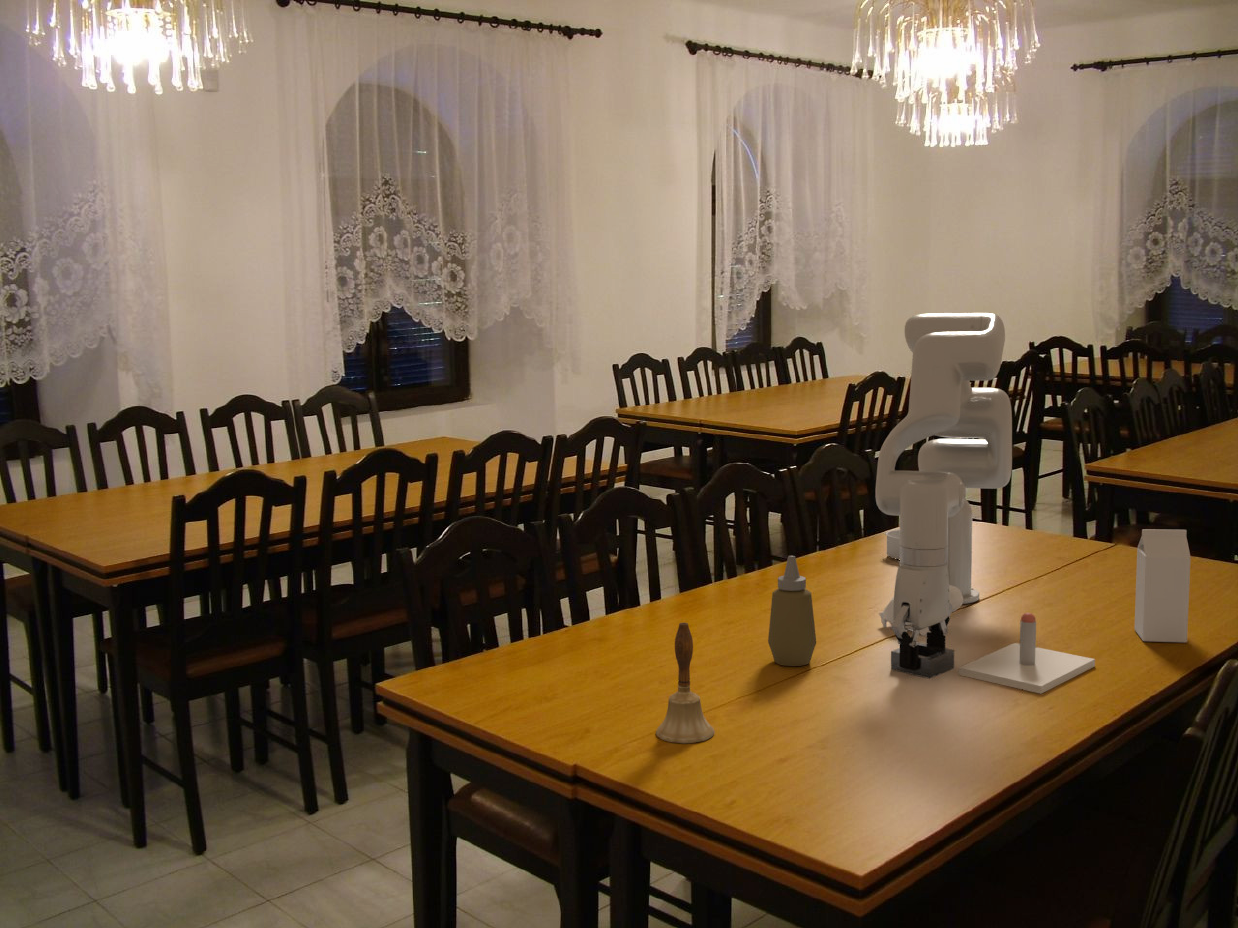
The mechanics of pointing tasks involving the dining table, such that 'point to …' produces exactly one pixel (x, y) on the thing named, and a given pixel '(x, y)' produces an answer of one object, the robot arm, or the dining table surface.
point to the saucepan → (893, 543)
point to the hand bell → (684, 700)
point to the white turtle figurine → (887, 616)
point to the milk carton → (1162, 586)
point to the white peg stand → (1027, 663)
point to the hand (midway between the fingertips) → (922, 662)
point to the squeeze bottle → (792, 619)
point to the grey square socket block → (927, 661)
